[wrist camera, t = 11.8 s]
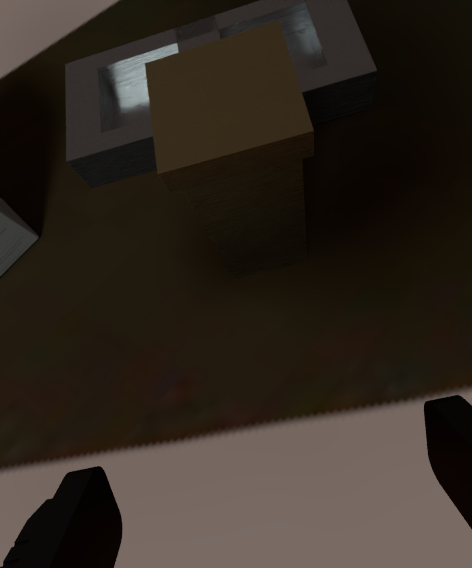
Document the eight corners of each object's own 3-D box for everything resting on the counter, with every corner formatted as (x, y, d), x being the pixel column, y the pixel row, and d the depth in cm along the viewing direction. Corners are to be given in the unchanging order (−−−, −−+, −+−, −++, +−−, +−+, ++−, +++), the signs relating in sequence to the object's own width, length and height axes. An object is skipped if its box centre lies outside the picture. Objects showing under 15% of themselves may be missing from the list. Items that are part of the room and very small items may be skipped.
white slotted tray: (91, 187, 27) (66, 161, 25) (87, 96, 31) (65, 64, 28) (370, 109, 25) (377, 70, 22) (334, 18, 28) (336, -25, 26)
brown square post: (229, 285, 23) (157, 174, 13) (216, 212, 25) (144, 63, 14) (314, 265, 22) (313, 130, 12) (294, 191, 24) (279, 20, 14)
